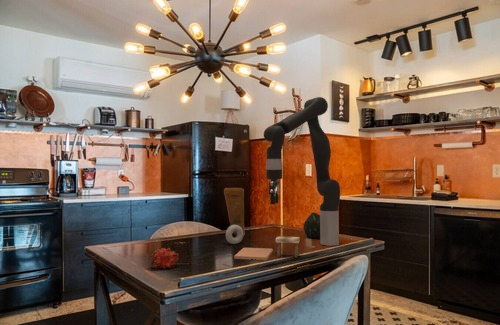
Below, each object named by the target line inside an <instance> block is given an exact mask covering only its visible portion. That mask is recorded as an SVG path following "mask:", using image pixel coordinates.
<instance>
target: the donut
mask: <svg viewBox="0 0 500 325" xmlns="http://www.w3.org/2000/svg"><path fill="white" fill-rule="evenodd" d="M234 231H236V232H237V235H235V237H233V234H232V233H233V232H234ZM225 238H226V241H227V242H228V243H229V244H231V245H237V244H239V243H240V242H241V241H242V240H243V238H244V236H243V230H242V228H241V227H240V226H238V225H231V226H230V225H229V226H228V227H227V229H226V230H225Z"/></svg>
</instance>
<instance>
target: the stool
mask: <svg viewBox="0 0 500 325" xmlns="http://www.w3.org/2000/svg"><path fill="white" fill-rule="evenodd" d="M300 239H301V237H300V236H279V235H278V236H276V238H275V243H277V249H276V250H277V253H276V254H277V257H278V258H280V257H281V256H282V244H283V243H284V244H294V258H295V259H298V258H299V257H298V256H299V243H300Z"/></svg>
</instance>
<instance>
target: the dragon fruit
mask: <svg viewBox="0 0 500 325" xmlns="http://www.w3.org/2000/svg"><path fill="white" fill-rule="evenodd" d="M180 258H181V256H180V254H179V253H177V252H176V251H174V250H171V248H170V247H167V248H166V247H162V248H161V249H160V248H156V250H154V251H153V252H152V253H151V254H150V258H149V260H150V261H151V266H153V267H155V266H156V267H157V269H161V268H162V269H163V270H164V269H166V268H169V269H172V268H174V267H175V264H177V263H178V261H179V260H180Z"/></svg>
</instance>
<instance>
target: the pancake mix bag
mask: <svg viewBox="0 0 500 325" xmlns="http://www.w3.org/2000/svg"><path fill="white" fill-rule="evenodd" d="M244 192H245V189H244V188H242V187H225V188H224V189H223V194H224V198H225V203H226V207H227V213H228V220H229V227H230V226H231V225H238V226H240V227H241V228H242V230H243V237H244V236H245V234H246V233H245V202H244V201H245V199H244V197H245V193H244ZM232 235H234V236H237V232H236V231H234V232H233V233H232Z"/></svg>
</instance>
